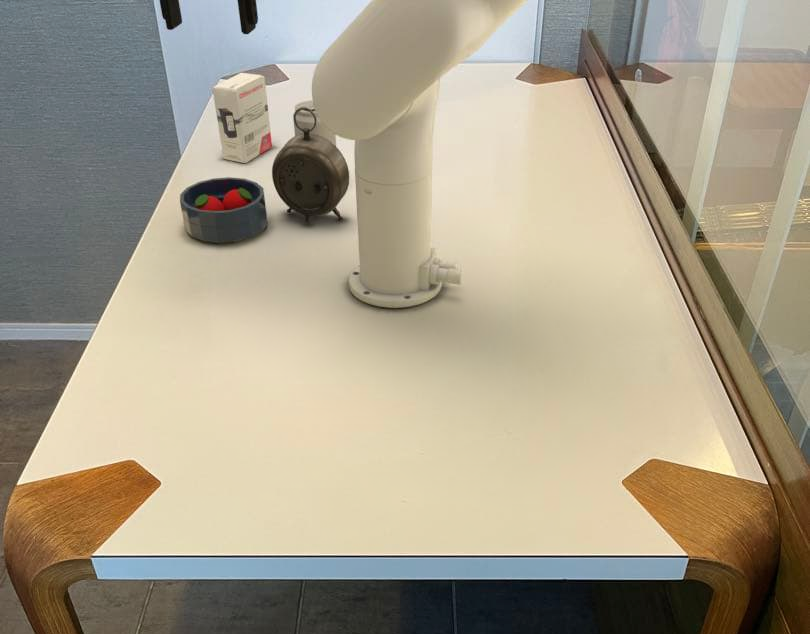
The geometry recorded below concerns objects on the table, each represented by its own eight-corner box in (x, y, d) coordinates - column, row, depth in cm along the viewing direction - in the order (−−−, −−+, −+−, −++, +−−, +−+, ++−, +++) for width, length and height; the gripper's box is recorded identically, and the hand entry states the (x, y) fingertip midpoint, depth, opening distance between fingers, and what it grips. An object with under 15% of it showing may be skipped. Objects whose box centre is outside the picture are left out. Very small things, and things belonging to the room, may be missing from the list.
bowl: (278, 213, 133) (274, 181, 129) (251, 249, 124) (246, 216, 121) (205, 206, 135) (199, 174, 131) (173, 241, 126) (166, 208, 123)
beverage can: (292, 187, 139) (284, 109, 131) (313, 173, 143) (306, 96, 135) (325, 194, 137) (319, 115, 129) (345, 180, 141) (341, 102, 133)
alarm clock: (352, 216, 131) (346, 104, 120) (340, 232, 128) (333, 117, 116) (286, 208, 134) (274, 97, 122) (273, 223, 130) (259, 110, 119)
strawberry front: (246, 221, 132) (262, 199, 129) (237, 230, 128) (252, 208, 126) (223, 201, 131) (238, 178, 128) (213, 210, 127) (228, 187, 125)
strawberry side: (225, 207, 130) (209, 184, 126) (234, 222, 127) (217, 198, 123) (202, 224, 130) (185, 201, 126) (209, 238, 127) (192, 215, 124)
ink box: (250, 142, 153) (241, 70, 145) (273, 147, 152) (265, 74, 143) (222, 159, 148) (210, 85, 140) (245, 164, 146) (235, 89, 138)
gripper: (95, -147, 91) (132, 34, 103) (248, -144, 88) (268, 42, 100) (126, -157, 96) (159, 17, 108) (272, -154, 93) (288, 24, 106)
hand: (211, 28), depth 104 cm, fingers open, 9 cm apart
